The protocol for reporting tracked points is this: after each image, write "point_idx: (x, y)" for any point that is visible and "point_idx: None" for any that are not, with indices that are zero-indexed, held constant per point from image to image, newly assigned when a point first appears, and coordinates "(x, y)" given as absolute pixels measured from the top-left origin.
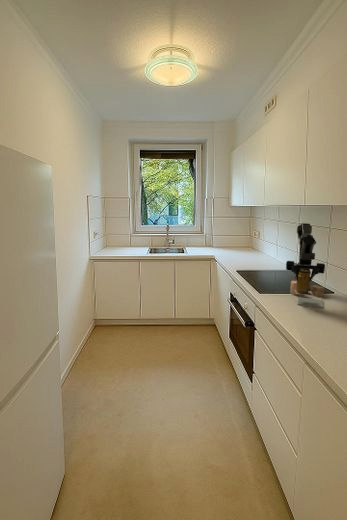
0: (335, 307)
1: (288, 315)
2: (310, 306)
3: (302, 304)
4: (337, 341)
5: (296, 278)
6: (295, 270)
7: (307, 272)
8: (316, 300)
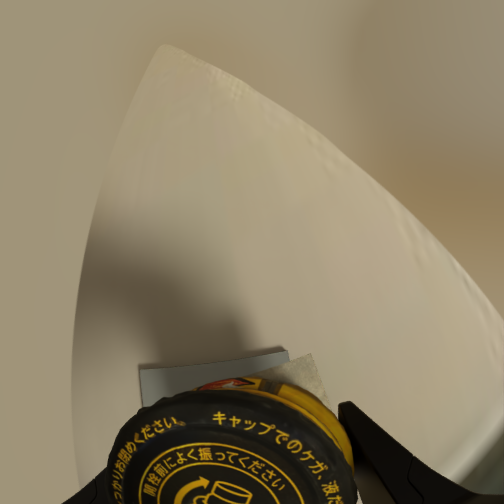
0: (95, 412)
1: (282, 166)
2: (210, 364)
3: (257, 356)
4: (138, 104)
5: (355, 406)
6: (439, 492)
7: (141, 410)
8: None
